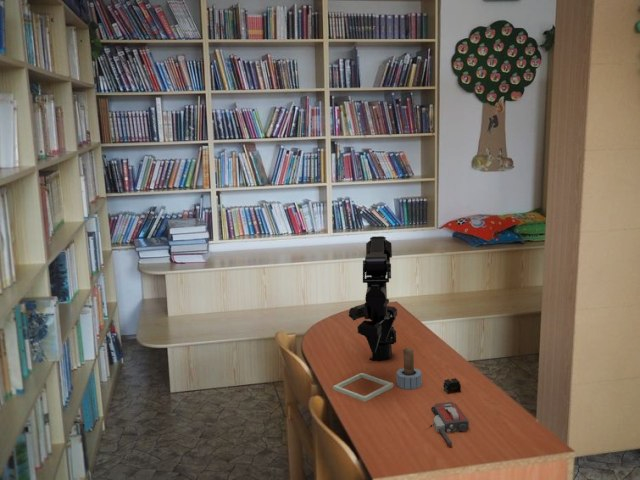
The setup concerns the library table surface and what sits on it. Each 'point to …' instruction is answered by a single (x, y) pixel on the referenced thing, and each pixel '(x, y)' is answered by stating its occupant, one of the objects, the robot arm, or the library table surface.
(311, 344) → the library table surface
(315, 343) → the library table surface
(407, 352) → the dowel
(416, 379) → the ring
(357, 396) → the tray
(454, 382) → the black angular piece
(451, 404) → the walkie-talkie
